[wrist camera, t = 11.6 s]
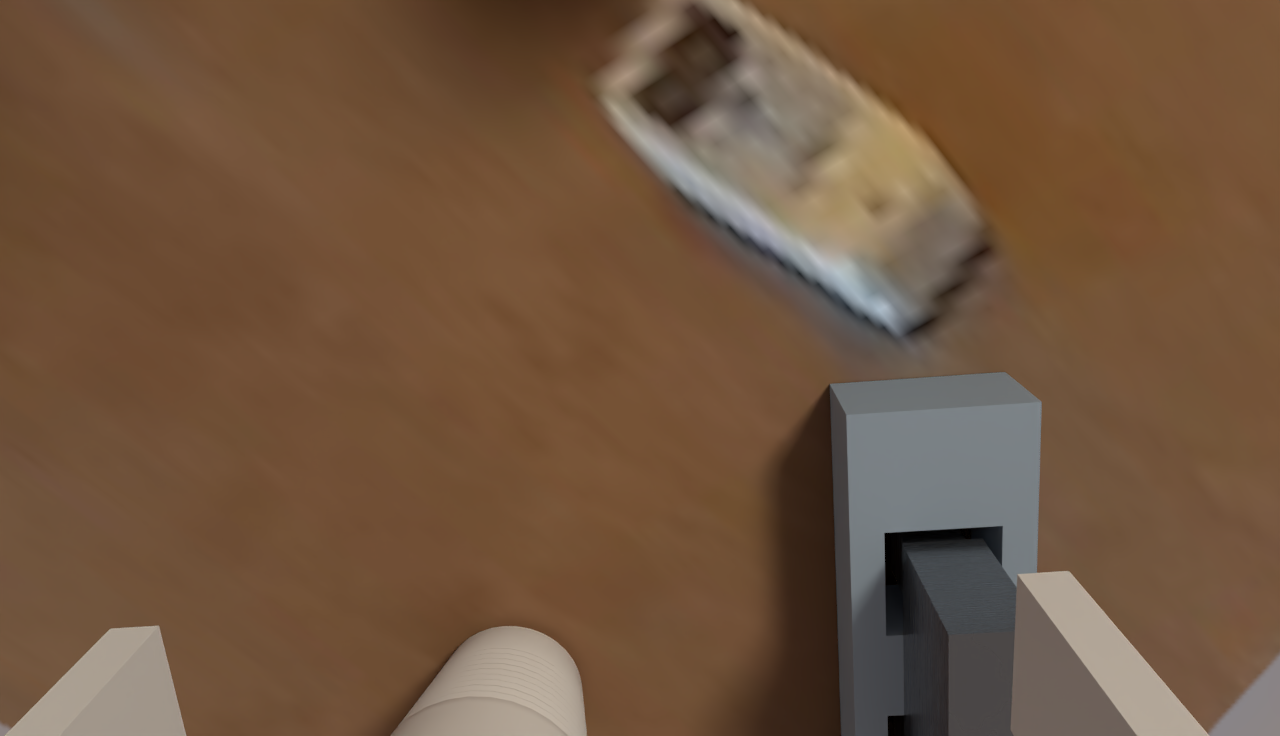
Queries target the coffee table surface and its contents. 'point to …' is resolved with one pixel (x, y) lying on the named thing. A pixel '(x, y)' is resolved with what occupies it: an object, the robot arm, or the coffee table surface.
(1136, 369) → the coffee table surface
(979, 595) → the clip
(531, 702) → the cup
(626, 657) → the coffee table surface
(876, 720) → the grey block with hole
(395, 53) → the coffee table surface
